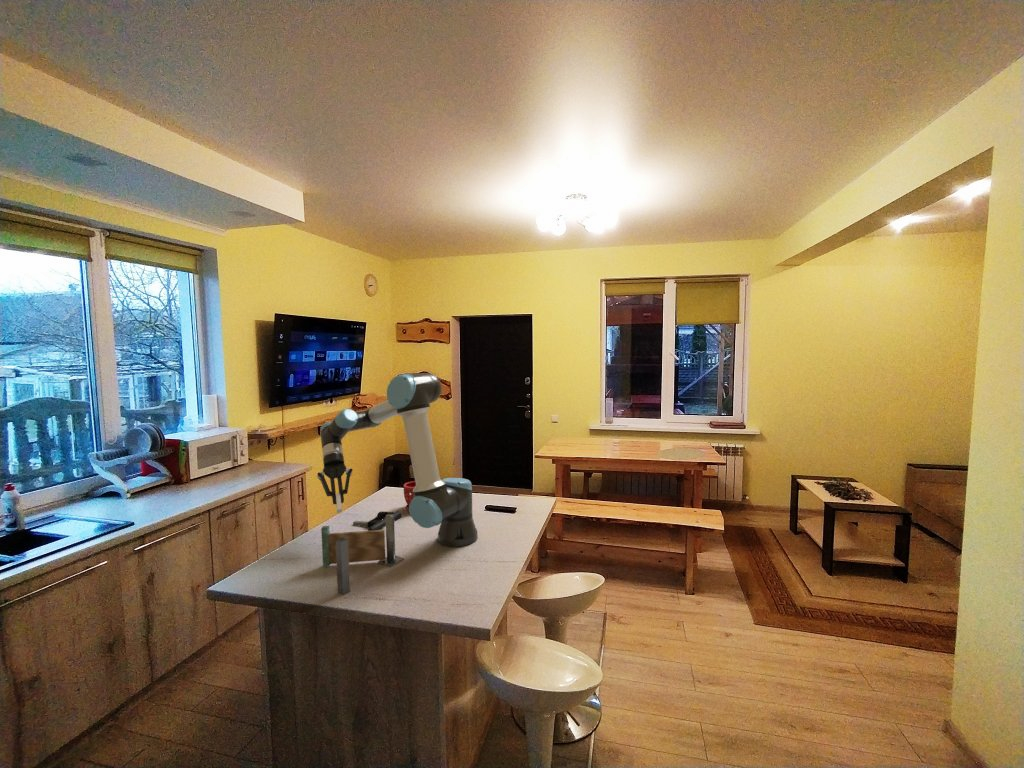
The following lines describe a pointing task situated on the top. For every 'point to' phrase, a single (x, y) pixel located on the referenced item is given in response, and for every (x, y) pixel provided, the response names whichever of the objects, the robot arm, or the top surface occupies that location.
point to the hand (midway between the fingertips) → (339, 511)
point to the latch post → (342, 566)
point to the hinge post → (390, 543)
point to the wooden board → (354, 545)
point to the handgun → (378, 521)
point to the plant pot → (407, 490)
